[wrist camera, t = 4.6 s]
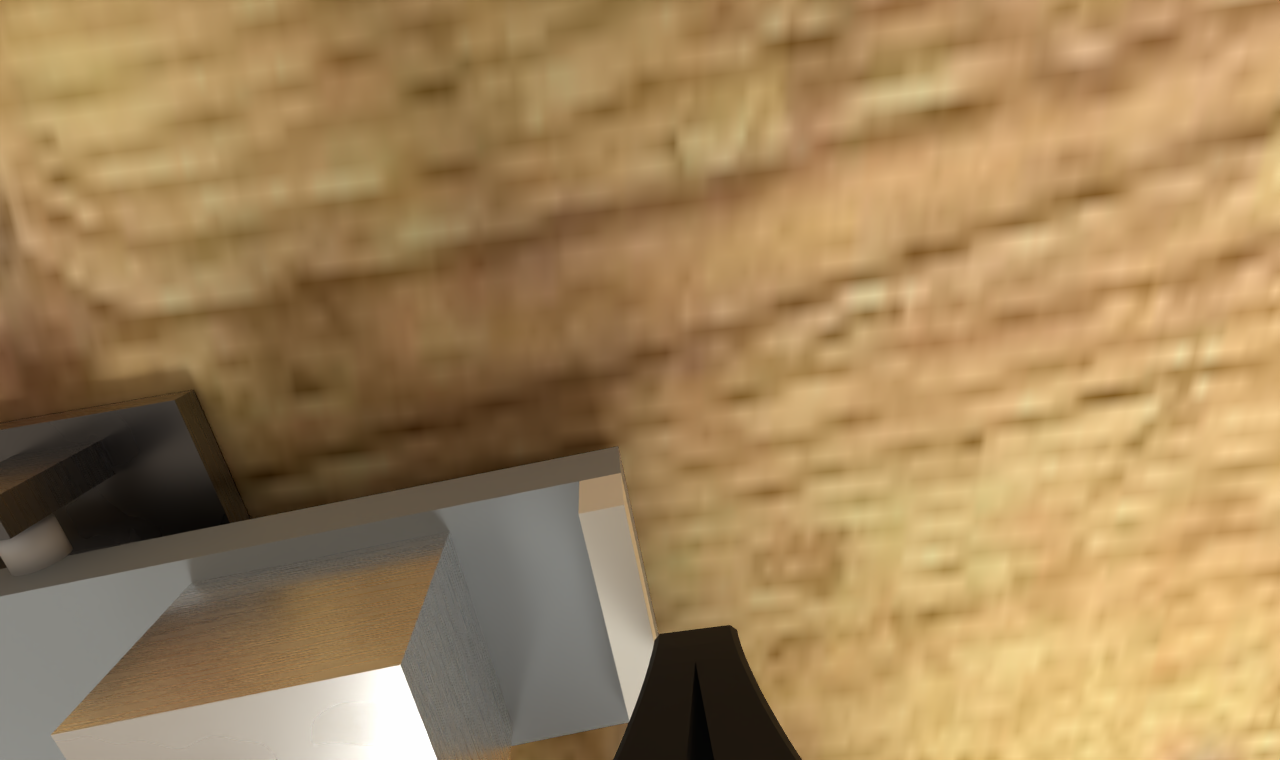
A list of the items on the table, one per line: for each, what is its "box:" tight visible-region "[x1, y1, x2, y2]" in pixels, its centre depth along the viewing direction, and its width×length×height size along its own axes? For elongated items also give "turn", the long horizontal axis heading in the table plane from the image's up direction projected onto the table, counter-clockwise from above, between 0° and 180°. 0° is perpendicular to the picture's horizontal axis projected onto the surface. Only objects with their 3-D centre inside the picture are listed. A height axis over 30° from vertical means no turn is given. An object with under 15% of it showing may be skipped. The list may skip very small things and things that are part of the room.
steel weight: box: [51, 531, 514, 760], centre depth 12 cm, size 5×5×4 cm
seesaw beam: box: [0, 446, 659, 760], centre depth 14 cm, size 24×8×3 cm, turn 101°
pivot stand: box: [0, 390, 250, 569], centre depth 15 cm, size 6×11×3 cm, turn 10°
